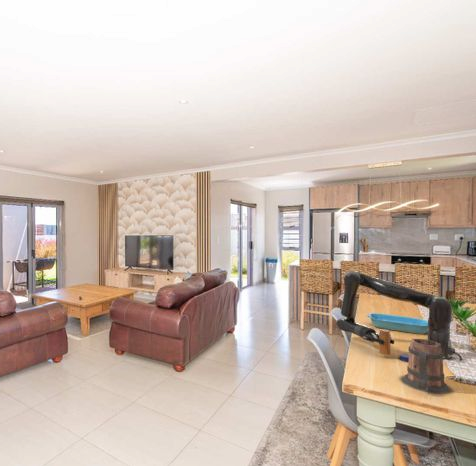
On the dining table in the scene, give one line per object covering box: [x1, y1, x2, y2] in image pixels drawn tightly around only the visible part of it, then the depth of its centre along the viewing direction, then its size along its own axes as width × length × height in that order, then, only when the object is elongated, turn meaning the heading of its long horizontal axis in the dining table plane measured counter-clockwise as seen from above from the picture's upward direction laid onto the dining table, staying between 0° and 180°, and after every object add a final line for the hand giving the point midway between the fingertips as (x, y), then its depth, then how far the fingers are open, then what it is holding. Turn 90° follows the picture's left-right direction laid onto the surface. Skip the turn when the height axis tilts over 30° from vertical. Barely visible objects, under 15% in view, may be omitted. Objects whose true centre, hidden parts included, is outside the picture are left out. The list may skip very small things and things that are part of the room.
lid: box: [399, 353, 409, 363], centre depth 182 cm, size 6×6×2 cm
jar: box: [378, 328, 392, 356], centre depth 185 cm, size 5×5×13 cm
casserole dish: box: [366, 312, 428, 335], centre depth 236 cm, size 37×22×7 cm, turn 54°
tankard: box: [401, 338, 452, 394], centre depth 152 cm, size 24×17×20 cm
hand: (388, 342), depth 183 cm, fingers closed on jar, 5 cm apart
